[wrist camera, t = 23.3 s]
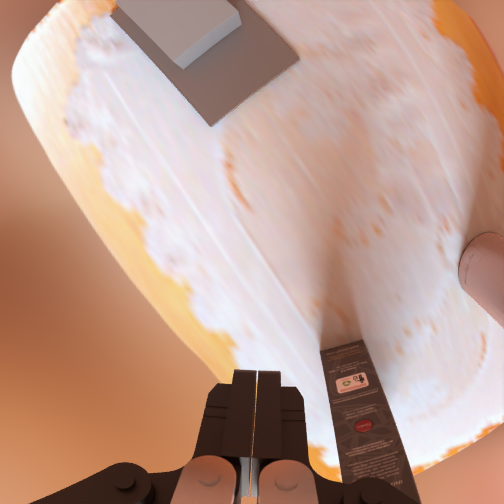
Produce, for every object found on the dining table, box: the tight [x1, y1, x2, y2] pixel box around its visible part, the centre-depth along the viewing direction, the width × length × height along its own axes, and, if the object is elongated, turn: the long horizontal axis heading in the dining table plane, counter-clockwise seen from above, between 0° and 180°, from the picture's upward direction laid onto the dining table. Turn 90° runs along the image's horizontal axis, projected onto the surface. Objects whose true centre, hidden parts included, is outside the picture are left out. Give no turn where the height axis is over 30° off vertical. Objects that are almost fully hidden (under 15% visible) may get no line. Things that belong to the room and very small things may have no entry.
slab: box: [115, 0, 242, 70], centre depth 26 cm, size 8×4×11 cm
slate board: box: [110, 0, 300, 127], centre depth 29 cm, size 20×12×1 cm, turn 39°
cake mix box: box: [320, 340, 422, 504], centre depth 30 cm, size 22×6×30 cm, turn 18°
